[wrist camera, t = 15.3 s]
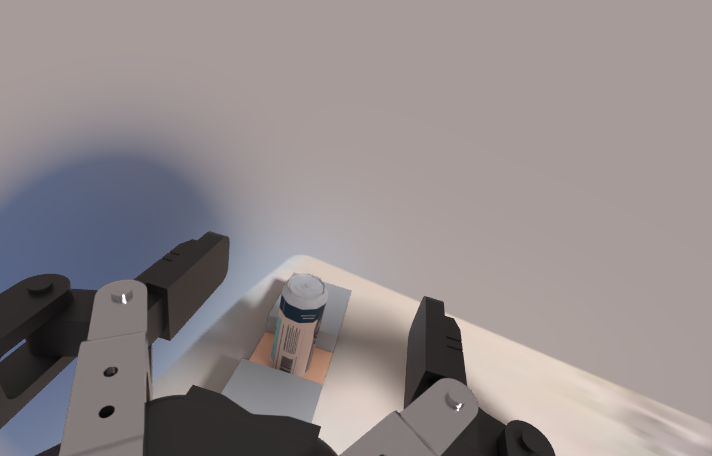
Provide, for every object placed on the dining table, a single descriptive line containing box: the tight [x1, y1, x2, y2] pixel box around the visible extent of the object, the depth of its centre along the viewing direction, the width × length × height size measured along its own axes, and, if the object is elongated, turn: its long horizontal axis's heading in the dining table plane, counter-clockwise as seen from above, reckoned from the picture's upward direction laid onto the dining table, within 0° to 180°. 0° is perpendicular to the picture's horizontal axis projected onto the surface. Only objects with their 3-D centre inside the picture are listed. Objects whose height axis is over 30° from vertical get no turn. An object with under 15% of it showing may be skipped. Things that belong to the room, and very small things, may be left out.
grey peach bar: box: [221, 273, 351, 423], centre depth 40 cm, size 9×26×4 cm, turn 170°
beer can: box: [270, 274, 328, 377], centre depth 38 cm, size 5×5×12 cm
